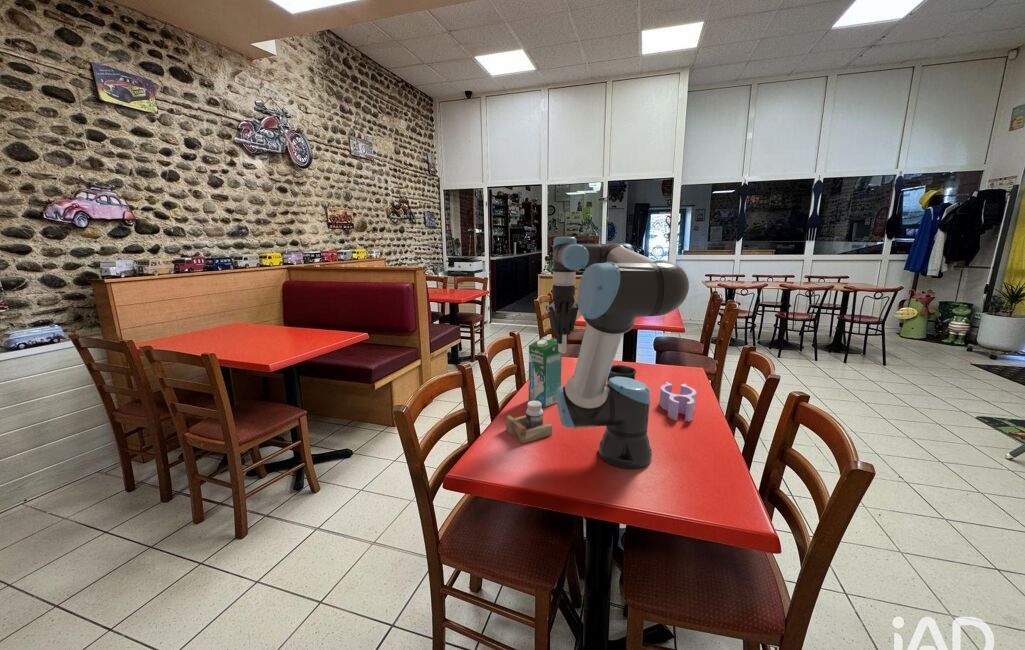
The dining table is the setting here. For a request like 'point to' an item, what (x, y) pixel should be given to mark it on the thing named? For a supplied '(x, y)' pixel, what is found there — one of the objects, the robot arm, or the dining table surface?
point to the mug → (622, 372)
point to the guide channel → (521, 434)
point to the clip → (678, 401)
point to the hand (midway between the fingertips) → (562, 352)
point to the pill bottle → (534, 414)
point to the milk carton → (544, 371)
